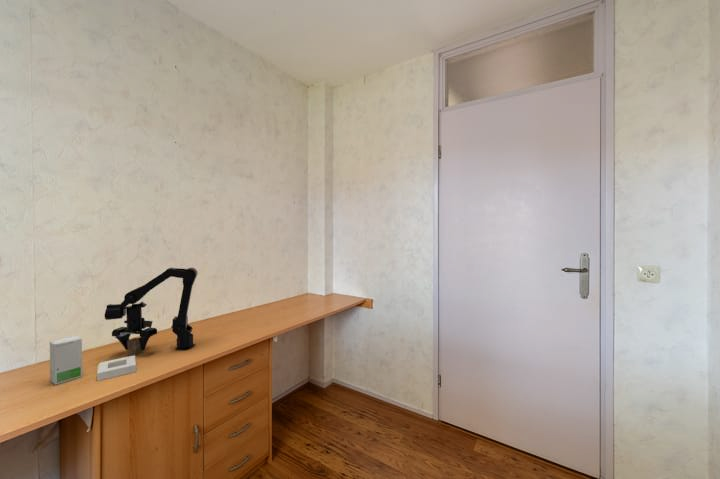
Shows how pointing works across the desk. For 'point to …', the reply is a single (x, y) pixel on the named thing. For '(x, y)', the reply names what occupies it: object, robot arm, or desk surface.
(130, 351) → the peg
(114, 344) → the desk surface
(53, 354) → the skincare box
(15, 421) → the desk surface
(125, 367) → the socket
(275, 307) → the desk surface
